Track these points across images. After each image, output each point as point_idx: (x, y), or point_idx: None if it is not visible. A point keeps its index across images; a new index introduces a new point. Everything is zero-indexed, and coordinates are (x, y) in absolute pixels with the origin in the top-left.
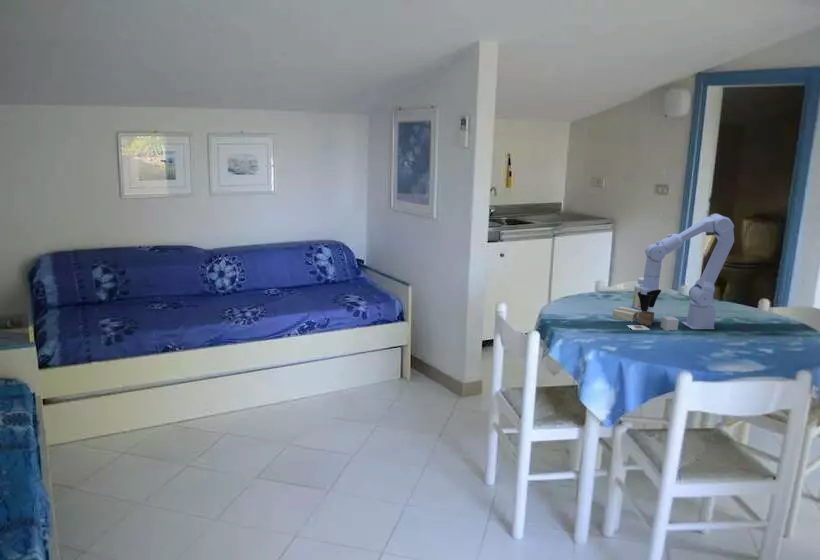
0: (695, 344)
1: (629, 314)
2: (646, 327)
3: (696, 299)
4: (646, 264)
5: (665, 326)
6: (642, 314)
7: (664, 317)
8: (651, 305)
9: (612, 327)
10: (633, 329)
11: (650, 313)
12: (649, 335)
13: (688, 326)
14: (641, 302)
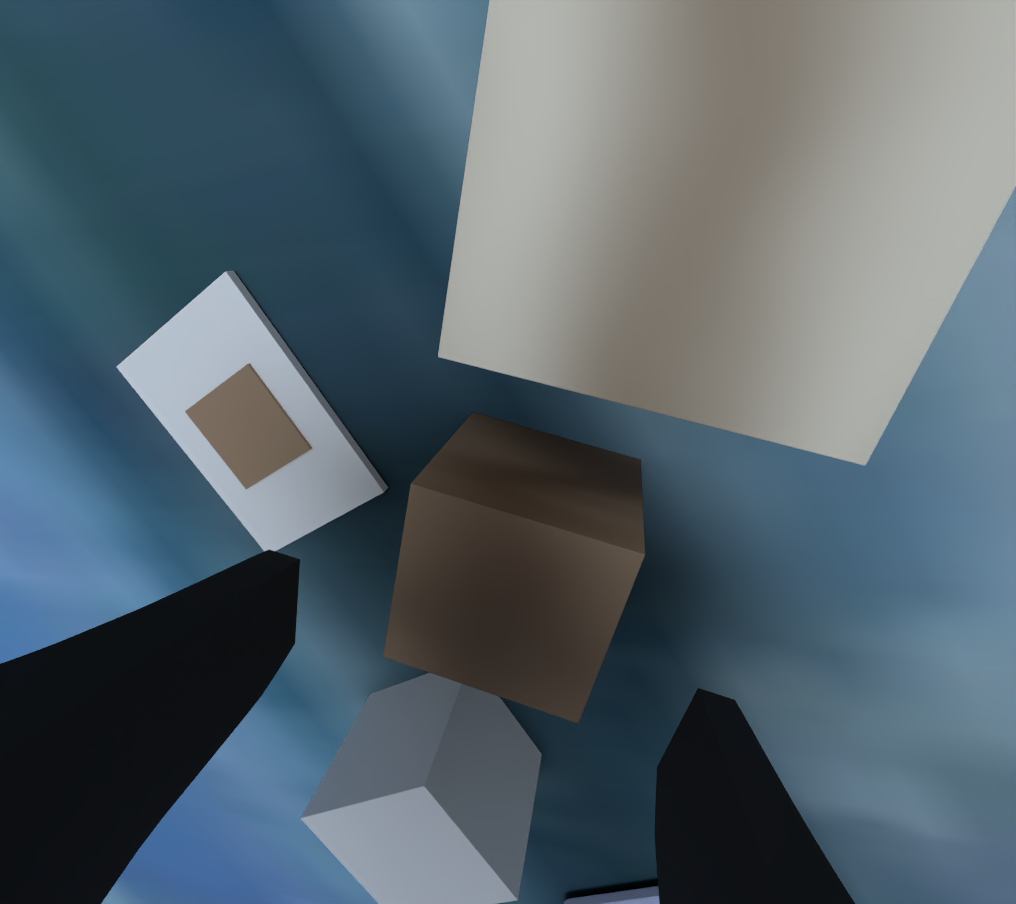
0: (172, 827)
1: (452, 279)
2: (312, 522)
3: None
4: None
5: (368, 722)
6: (411, 529)
7: (378, 804)
8: (673, 786)
9: (22, 73)
10: (127, 379)
11: (474, 660)
12: (103, 542)
13: (619, 896)
14: (73, 677)
